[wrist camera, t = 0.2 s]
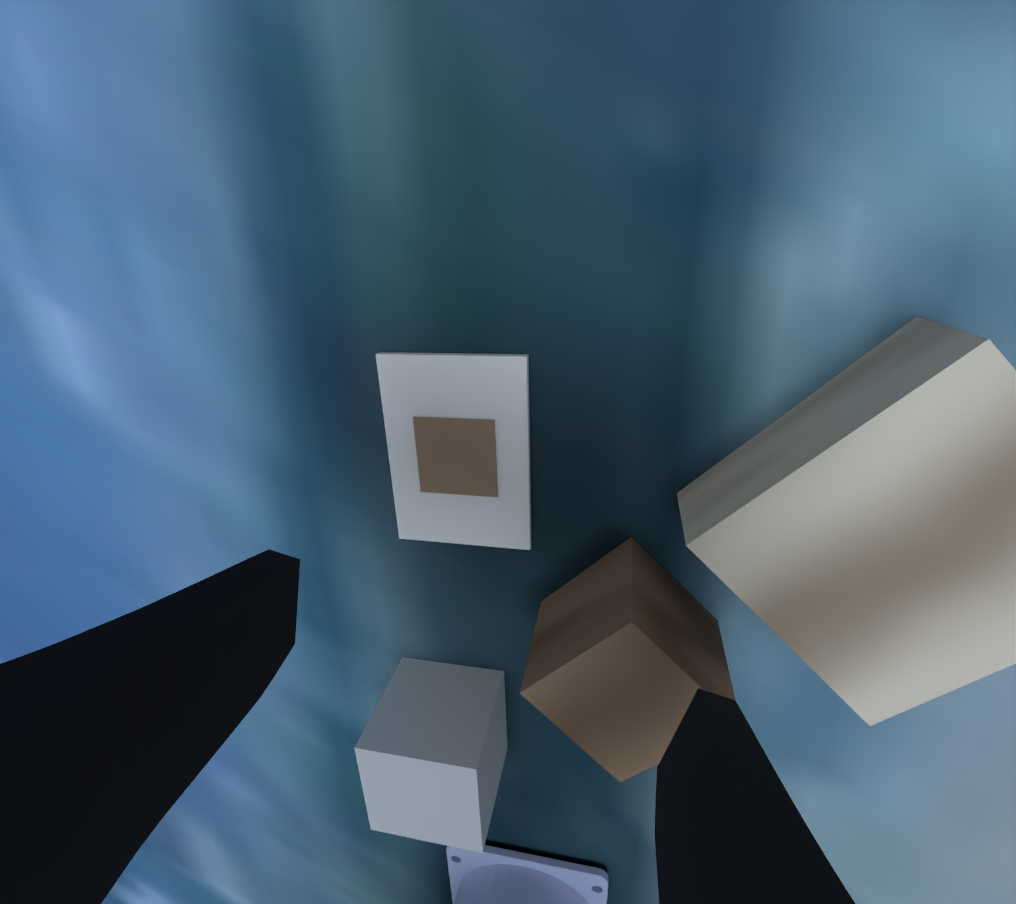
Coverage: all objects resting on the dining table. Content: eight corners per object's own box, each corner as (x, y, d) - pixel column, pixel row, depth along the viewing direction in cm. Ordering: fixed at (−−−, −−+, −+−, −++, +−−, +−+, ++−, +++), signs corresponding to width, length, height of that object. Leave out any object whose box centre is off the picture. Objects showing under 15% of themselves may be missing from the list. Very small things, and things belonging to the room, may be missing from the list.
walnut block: (716, 619, 19) (740, 725, 15) (622, 674, 21) (620, 782, 17) (631, 535, 19) (631, 622, 14) (541, 600, 20) (519, 693, 16)
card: (531, 545, 19) (529, 551, 19) (402, 534, 20) (398, 540, 20) (528, 354, 17) (526, 357, 16) (379, 351, 18) (374, 354, 17)
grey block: (507, 746, 24) (482, 853, 20) (412, 730, 25) (370, 829, 21) (504, 669, 22) (476, 769, 18) (402, 655, 23) (354, 747, 19)
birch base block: (1082, 511, 15) (1197, 585, 12) (829, 642, 19) (869, 725, 16) (910, 314, 14) (988, 338, 11) (675, 488, 18) (685, 545, 15)
